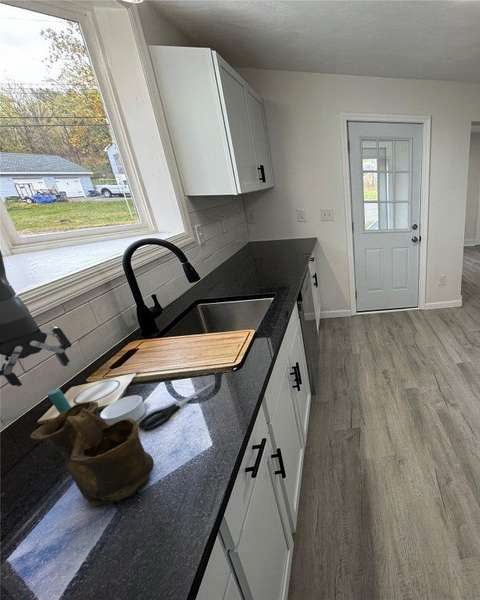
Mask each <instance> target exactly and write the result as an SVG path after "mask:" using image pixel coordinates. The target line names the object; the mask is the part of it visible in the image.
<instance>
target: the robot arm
mask: <svg viewBox="0 0 480 600" xmlns="http://www.w3.org/2000/svg"><path fill="white" fill-rule="evenodd" d="M48 336H50V337H52V338H56V340H57V341H58V342H59V345H58V346H55V345H52V344H50V343H46V340H47V337H48ZM71 347H72V342H70V340H69V339H68V337H67V336H66V334H65V332H63V330H62V329H61V328H60V327H57V326H55V325H54V326H51V327H50V328H49V329H47V330H44V331H43V330H42V329H40V327H39V325H38V324H37V322H36V320H35V319H34V317H33V316H32V314H31V312H30V310H29V307H27V306H26V304H25V303H24V302H23V300H22V299H21V298H20V297H19V296H18V294H17V292H16V291H15V290H14V288H13V287H12V285H11V283H10V281H9V280H8V279H7V273H6V267H5V262H4V258H3V253H2V249H0V355H1V356H4V357H3V359H2V364H1V366H0V376H3V377H4V378H5V380H6V381H7V383H8V384H9V385H10V386H13V387H15V386H16V387H22V386H23V383H22V382H21V380H20V379H19V378H18V376H17V374H16V373H15V372H13V370H14V367H15V366H16V365H17V362H18V359H20V360H21V359H22V360H23V359H25V358H28V357H30V356H31V355H35V354H38V353H40V352H41V351H42V350H46V351H48V352H53V353H54V355H55V357H56V359H57V360H58V362H59V363H60V365H61V366H62V367H67V366H69V364H68V363H70V359H69V358H68V355H67V354H66V350H67V349H69V348H71Z"/></svg>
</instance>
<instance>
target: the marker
mask: <svg viewBox="0 0 480 600" xmlns="http://www.w3.org/2000/svg"><path fill="white" fill-rule="evenodd" d="M46 394H47V397H48V398H49V401H51V403H52V404H53V405H54V406H55V407H56V409H57V410H58V412H59V413H60V414H61V413H62V412H64V411H67V410H69V409H70V408H72V407H71V406H70V404H69V403H68V401H67V399H66V398H65V396H64V393H63V391H62V390H61V389H60V388H55V389H52V390H51V391H49V392H47V393H46Z"/></svg>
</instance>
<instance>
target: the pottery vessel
mask: <svg viewBox="0 0 480 600" xmlns="http://www.w3.org/2000/svg"><path fill="white" fill-rule="evenodd" d="M139 429H140V428H139V423H138V422H137V421H135V420H133V418H126V419H122V420H120V421H118V422H115V423H114V424H106V422H105V421H104V420H103V419H102V418H101V417H100V413H99V410H98V403H97V402H93V401H88V402H83V403H79V404H76V405H74V406H73V407H72V408H70V409H69V410H67V411H64V412H62V413H61V414H59V415H58V416H57V417H56V418H55V419H53V420H51V421H48V420H47V421H46V422H45V423H43V424H41V425H39V427H38V428H37V429H36V430H33V431H32V432H31V434H30V439H32V440H36V441H38V442H40V441H41V442H42V441H46V442H48V443H49V444H50V445H51V446H53V447H54V448H55V449H56V450H57V451H58V452H59V453H60V455H62V457H63V458H64V468H65V469H66V470H67V472H68V474H69V475H70V477H71V478H72V480H73V481H74V484H75V485H76V487H77V489H78V490H79V492H80V494H81V495H82V497H83V498H84V499H85V500H86V501H87V502H88V504H89V505H90V506H91V507H96V506H99V505H102V504H106V505H107V504H112V503H114V502H115V503H116V502H117V503H120V502H121V501H122V500H123V499H125V498H127V497H129V498H131V497H133V496H135V495H136V493H137V492H139V491H140V490H141V489H142V488H143V487H144V486H146V485H147V483H148V482H149V478H150V475H151V472H152V471H153V469H154V466H155V461H154V458H153V457H152V455H151V454H150V453H149V452H146V451H145V448H144V447H143V443H142V442H141V439H140V436H139V434H140V432H139Z"/></svg>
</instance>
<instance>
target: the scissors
mask: <svg viewBox="0 0 480 600" xmlns="http://www.w3.org/2000/svg"><path fill="white" fill-rule="evenodd" d="M214 384H215V381H213V382H211V383H210V384H208V385H206V386H204V387H202V388H201V389H199V390H197V391H196V392H194V393H192V394H191V395H189V396H187V397H186V398H184V399H182V400H181V401H179V402H178V403H177V404H176V403H173V404H172V405H170V406H168V407H165V408H162V409H158V410H155V411H152V412H151V413H149V414H147V415H146V416H145V417H144V418H143V419H142V420H140V422H139V423H138V428H139V429H143V431H145V432H149V431H153V430H156V429H157V428H159V427H161V426H163V425H165V424H166V423H167V422H169V421H170V419H171V418H172V416H173V415H174V414H175V413H176V412H177V411H179V410H180V409H181V406H183V405H185V404H186V403H188V402H189V401H190V400H193V398H195V397H196V396H198V395H200V394H201V393H203V392H204V391H206V390H207V389H209V388H210V387H211V386H213V385H214ZM154 416H155V417H154ZM165 417H166V418H165ZM163 418H164V419H163ZM149 419H150V420H149ZM159 421H160V422H159Z"/></svg>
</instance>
